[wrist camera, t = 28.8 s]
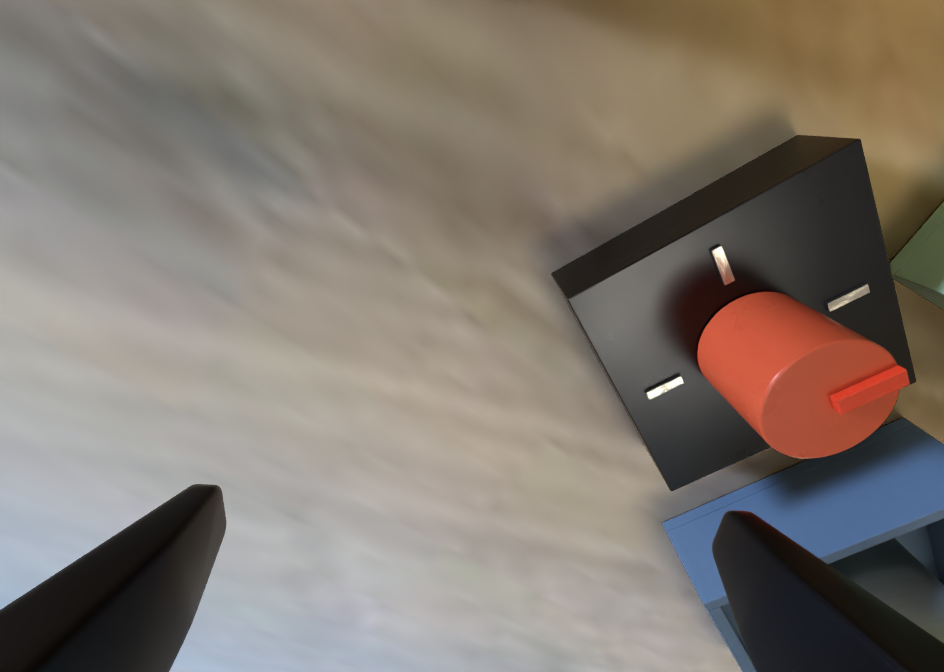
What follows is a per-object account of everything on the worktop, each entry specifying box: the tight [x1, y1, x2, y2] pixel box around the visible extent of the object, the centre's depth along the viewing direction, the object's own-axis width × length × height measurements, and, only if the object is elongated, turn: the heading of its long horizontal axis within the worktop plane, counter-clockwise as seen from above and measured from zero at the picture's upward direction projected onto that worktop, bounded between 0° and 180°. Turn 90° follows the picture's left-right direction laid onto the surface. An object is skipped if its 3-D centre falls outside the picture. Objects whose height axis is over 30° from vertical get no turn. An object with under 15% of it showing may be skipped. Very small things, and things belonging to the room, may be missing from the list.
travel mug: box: [828, 538, 944, 643], centre depth 21 cm, size 7×7×12 cm
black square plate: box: [551, 135, 916, 491], centre depth 19 cm, size 10×10×3 cm
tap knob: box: [698, 292, 910, 459], centre depth 16 cm, size 4×4×4 cm
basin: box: [662, 418, 944, 672], centre depth 24 cm, size 12×12×5 cm
